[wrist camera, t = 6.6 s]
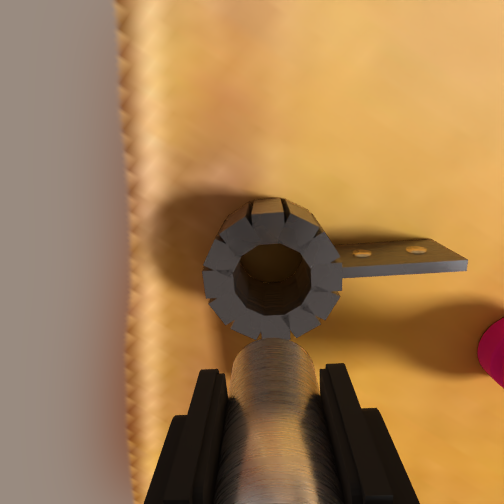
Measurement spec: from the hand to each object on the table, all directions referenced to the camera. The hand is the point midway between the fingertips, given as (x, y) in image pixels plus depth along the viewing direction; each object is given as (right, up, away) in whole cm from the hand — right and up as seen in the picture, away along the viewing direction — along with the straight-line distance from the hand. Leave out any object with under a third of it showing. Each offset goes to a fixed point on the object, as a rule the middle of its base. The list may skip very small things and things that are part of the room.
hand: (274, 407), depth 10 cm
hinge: (+5, +1, +15) cm, 15 cm away
